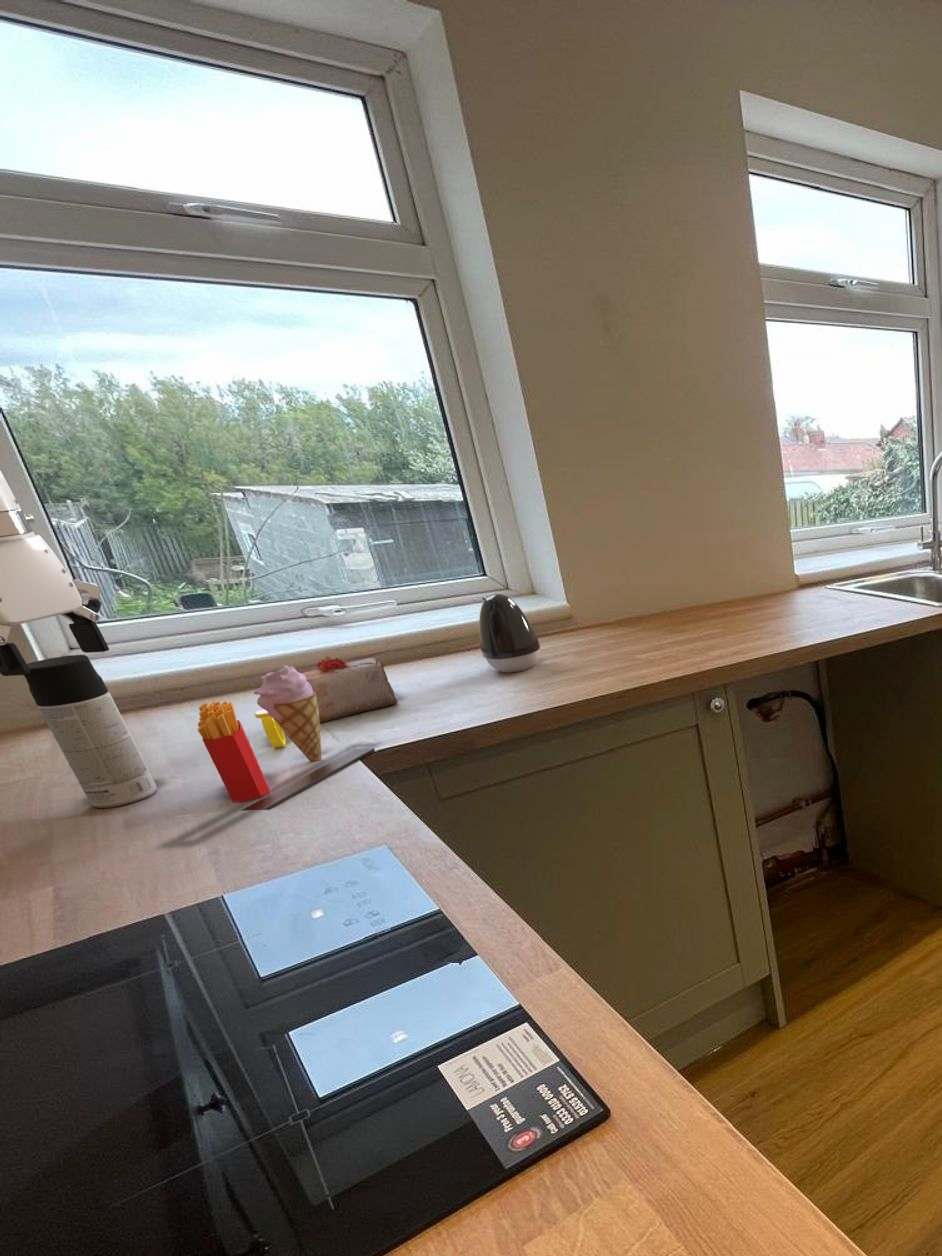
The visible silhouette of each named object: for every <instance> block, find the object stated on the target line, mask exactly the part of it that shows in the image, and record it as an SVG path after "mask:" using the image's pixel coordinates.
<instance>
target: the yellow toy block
mask: <svg viewBox="0 0 942 1256" xmlns="http://www.w3.org/2000/svg"><path fill="white" fill-rule="evenodd" d="M254 716H255V718H256V719H260V720H261V723H262V727H263V729H264V732H265V735H266V737H267V739H268V741H269V743H270V745H271V746H272V748H273V749H280V748H285V747H286V742H287V739H286V736H285V735H286V734H285V732H284V731H283V730H282V729H281V727H280V726H279V725H278V724H277V722H276V721H275V720H274V718H273V717H270V716H269V714H268V712H267V711H266V710H264V709H263V708H261V709H259V710H256V711H255V712H254Z"/></svg>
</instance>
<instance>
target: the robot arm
mask: <svg viewBox="0 0 942 1256" xmlns="http://www.w3.org/2000/svg"><path fill="white" fill-rule="evenodd" d="M21 508H22V507H21V506H20V504H19V502H18V500H17V499H16V496H15V495H14V493H13V491H12V489H11V487H10V485H9V484H8V482H7V480H6V478H5V476H4V474H3V473H2V471H1V470H0V675H1V676H4V677H14V676H24V675H26V674H29V673H30V669H29V667H28V665H27V664H28V663H27V662H26V661H25V658H24V657H23V655H22V654H21V651H20V650H19V648H18V646H17V644H16V643H14V642H8V639H9V636H10V633H11V630H12V627H13V626H18V625H23V624H26V623H31V622H35V621H39V620H44V619H48V618H53V617H56V616H60V617H63V618H64V619H67V620H69V621H71V622H72V623H68V626H69V627H68V628H69V630H70V631H71V634H72V635H73V637H74V639H75V641H76V643H77V644H78V646H79V648H80V650H81V652H82V653H85V654H87V653H88V654H89V653H105V652H108V651H110V647H109V645H108V643H107V641H106V639H105V637H104V636H103V634H102V631H101V629H100V628H99V626H98V624H97V623H96V622H98V621H99V620H100V615H99V611H100V610H101V607H102V602H101V601H100V599H101V587H100V585H99V584H97V583H92V582H88V581H83V580H81V579H75V578H71V576H70V574H69V573H68V571H67V569H66V568H65V567H64V565H63V563H62V562H61V560H60V559H59V558H58V556H57V555H56V553H55V552H54V551H53V549H52V548H51V547H50V545H49V544H48V543H47V542H46V540H44V538H43V537H42V536H41V535H40V534H35V532H34V531H33V529H32V526H31V525H33V524H35V518H34V517H33V515H32V514H30V513H24V512H23V510H22V509H21Z"/></svg>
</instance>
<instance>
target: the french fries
mask: <svg viewBox="0 0 942 1256" xmlns="http://www.w3.org/2000/svg"><path fill="white" fill-rule="evenodd" d="M198 709H199V713H198V715H199V718H198V719H199V721H198V723H197V726H198V728H197V731H198V733H199V734H200V736H201V738H202V740H201V741H202V742H203V744H204V746H205V748H206V750H207V752H208V754H209V756H210V759H211V760H212V763H213V764H214V767H215V768H216V771H217V773H218V775H219V777H220V779H221V781H222V783H223V785H224V787H225V789H226V791H227V793H228V795H229V798H230V800H231V802H232V803H246V802H248V801H252V800H256V799H260V798H264V797H265V796H267V795H269V793H270V792H271V790H270V789H271V788H270V787H269V784H268V782H267V779H266V777H265V774H264V772H263V770H262V768H261V765H260V764H259V761H258V759H257V757H256V755H255V751H254V750H253V747H252V745H251V743H250V740H249V738H248V736H247V734H246V732H245V729H244V727H243V725H242V723H241V721H240V720H239V719H237V715H236V711H235V708H234V704H233V702H232V701H229V702H228V700H225V701H223V702H222V703H221V702H220V700H218V701H216V702H215V701H212V702H211V703H209V704H208V703H207V702H204V703H202V704H201V705H200V706H199V707H198Z"/></svg>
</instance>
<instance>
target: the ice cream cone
mask: <svg viewBox="0 0 942 1256" xmlns="http://www.w3.org/2000/svg"><path fill="white" fill-rule="evenodd" d="M301 673H302V672H298V671H297V669H296V668H295V667H294V666H289V665H286V664H283V665H282V668H281V669H279V670H276V671H275V672H272V671H270V672H268V673H266V674H265V675H263V676H260V681H261V682H262V685H261V686H260V688H257V689H255V690H254V692H253V694H254V695H259V697H258V698H257V699H256V702H257V705H258V706H259V707H260V708H261V709H264V710H266V711H267V712H268V714H269V716H270V717H273V718H274V720H275V721H276V722H277V724H278V725H279V726H280V727H281V729H282V730H283V732H284V734H285V735H286V736H287V737H288V739H290V741H291V742H292V743H293V744H294V745H295V746H296V747H297V748H298V750H299V751H300V752H301V753H302V754H303V756H305V757H306V759H307V760H308V761H309V762H317V761H320V760H321V759H322V744H321V743H322V740H321V739H322V738H321V723H320V721H319V711H318V705H317V699H316V693H315V692H313V690H312V687H311V685H310V684H309V683H308V682H307V681H306V677H305V676H304V675H303V674H301Z"/></svg>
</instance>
